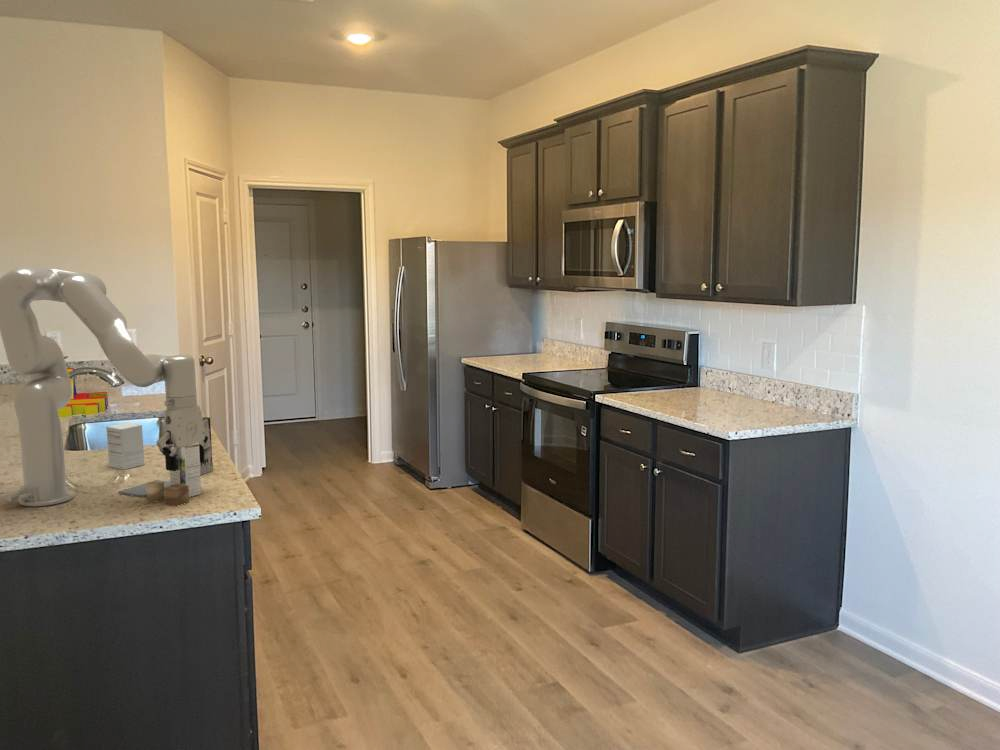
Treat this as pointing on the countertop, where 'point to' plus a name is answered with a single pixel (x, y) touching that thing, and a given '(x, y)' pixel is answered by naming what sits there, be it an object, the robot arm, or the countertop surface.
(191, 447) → the syrup box
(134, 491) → the slate mat
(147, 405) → the countertop surface
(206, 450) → the coffee box
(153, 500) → the birch cylinder
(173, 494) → the walnut block
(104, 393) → the building blocks toy
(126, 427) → the supplement box
